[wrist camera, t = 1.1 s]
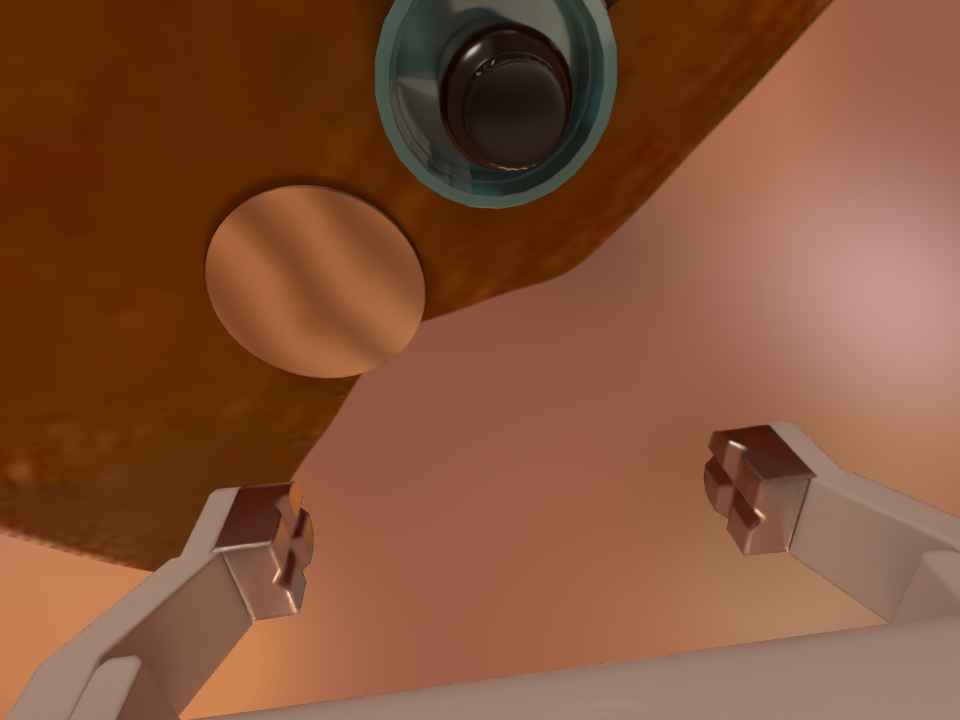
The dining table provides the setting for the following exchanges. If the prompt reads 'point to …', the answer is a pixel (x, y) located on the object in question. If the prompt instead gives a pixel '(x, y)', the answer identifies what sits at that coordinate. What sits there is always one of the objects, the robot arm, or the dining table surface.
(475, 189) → the pan
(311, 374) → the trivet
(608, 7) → the pan handle
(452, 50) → the supplement bottle
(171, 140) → the dining table surface
